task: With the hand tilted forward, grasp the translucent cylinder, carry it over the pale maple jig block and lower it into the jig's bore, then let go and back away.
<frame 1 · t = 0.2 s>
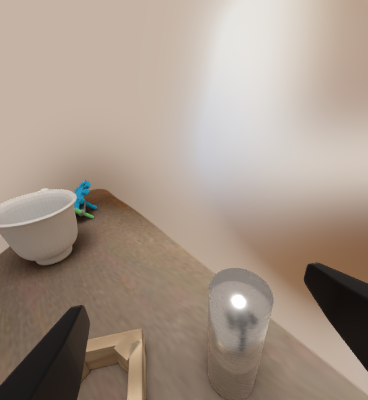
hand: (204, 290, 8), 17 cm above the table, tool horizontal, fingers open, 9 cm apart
teacup: (56, 249, 37), on the table
gear: (81, 214, 48), on the table
translucent cylinder: (230, 370, 19), on the table
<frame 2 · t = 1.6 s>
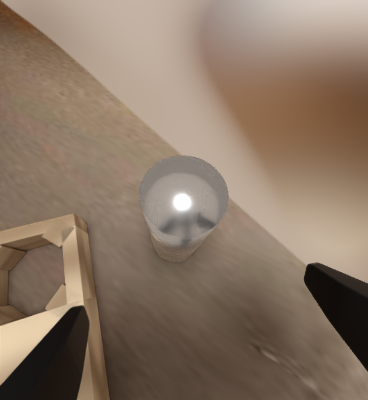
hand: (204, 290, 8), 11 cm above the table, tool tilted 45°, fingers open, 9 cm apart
jig: (47, 328, 16), on the table
translucent cylinder: (175, 239, 20), on the table
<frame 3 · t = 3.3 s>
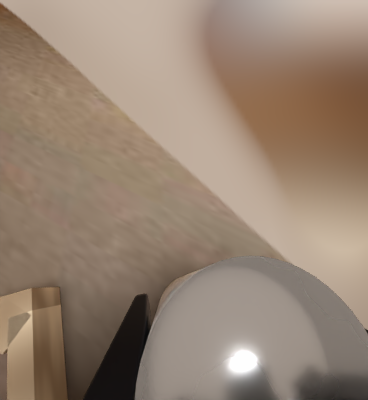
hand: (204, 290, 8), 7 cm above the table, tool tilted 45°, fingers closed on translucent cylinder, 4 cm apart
translucent cylinder: (191, 310, 13), on the table, touching gripper
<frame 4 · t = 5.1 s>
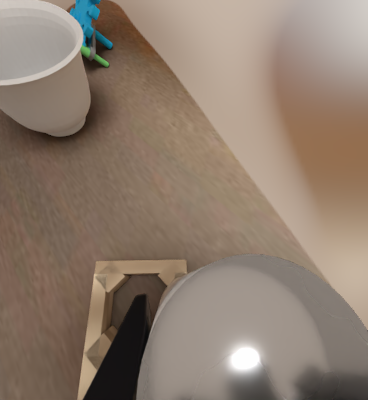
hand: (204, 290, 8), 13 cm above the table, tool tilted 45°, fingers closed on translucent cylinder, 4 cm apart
teacup: (64, 113, 27), on the table
gear: (90, 53, 32), on the table
jig: (140, 357, 18), on the table
translucent cylinder: (191, 309, 13), point 7 cm above the table, touching gripper
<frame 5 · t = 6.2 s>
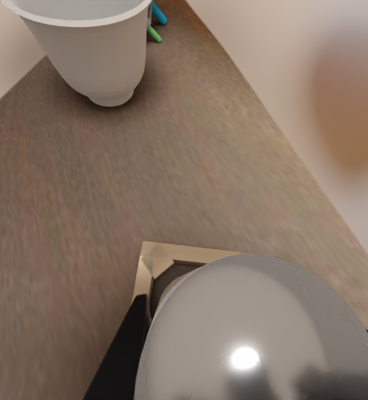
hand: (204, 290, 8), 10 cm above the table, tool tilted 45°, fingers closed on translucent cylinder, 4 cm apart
teacup: (111, 83, 26), on the table
gear: (142, 27, 31), on the table
jig: (180, 359, 15), on the table
translucent cylinder: (191, 309, 13), point 3 cm above the table, touching gripper
when the fingers open (8 cm above the table, at t = 6.9 s): translucent cylinder drops 2 cm, resting in jig.
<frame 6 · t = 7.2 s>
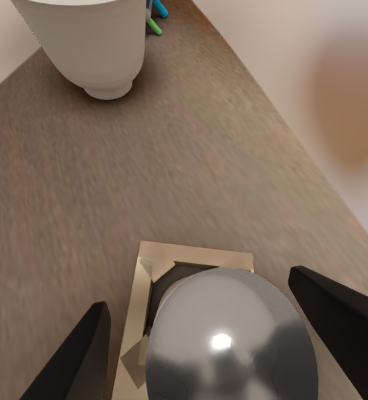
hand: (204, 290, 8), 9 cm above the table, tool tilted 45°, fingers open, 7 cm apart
teacup: (108, 76, 24), on the table
gear: (142, 20, 30), on the table
jig: (182, 372, 14), on the table
translucent cylinder: (187, 309, 15), resting in jig
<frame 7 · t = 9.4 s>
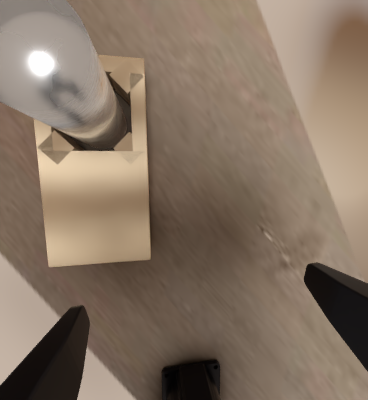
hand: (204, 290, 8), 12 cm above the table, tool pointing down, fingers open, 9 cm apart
jig: (104, 167, 18), on the table
translucent cylinder: (101, 124, 18), resting in jig
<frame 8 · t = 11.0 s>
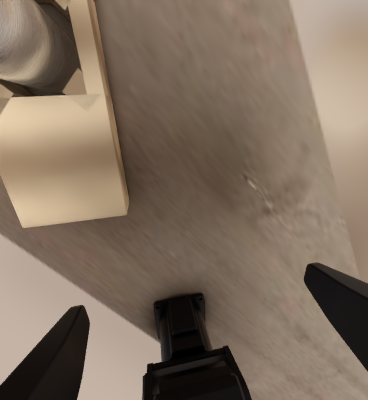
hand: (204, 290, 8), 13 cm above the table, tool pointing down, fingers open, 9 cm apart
jig: (62, 115, 16), on the table
translucent cylinder: (47, 58, 14), resting in jig
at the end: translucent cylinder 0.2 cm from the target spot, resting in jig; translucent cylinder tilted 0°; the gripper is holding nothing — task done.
